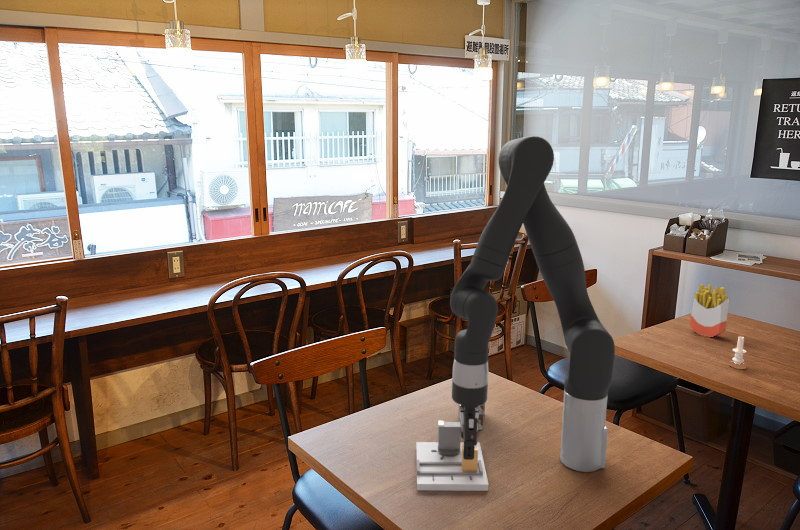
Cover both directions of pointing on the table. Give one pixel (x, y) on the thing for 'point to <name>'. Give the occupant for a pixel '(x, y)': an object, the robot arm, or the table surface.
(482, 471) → the board
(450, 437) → the selector knob
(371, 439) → the table surface
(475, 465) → the fader
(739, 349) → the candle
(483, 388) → the robot arm
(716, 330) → the french fries container
